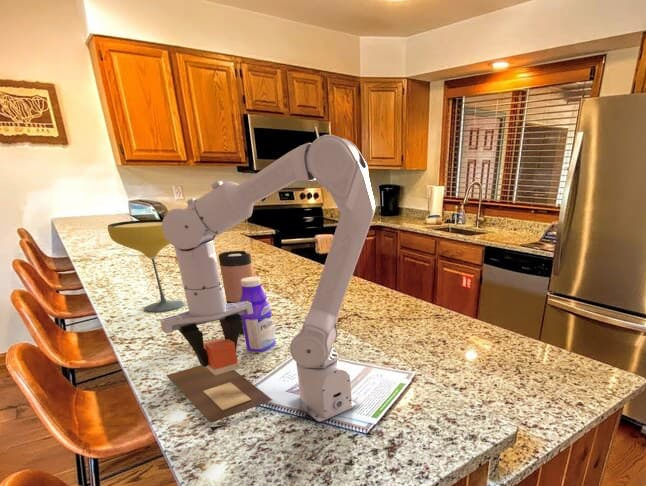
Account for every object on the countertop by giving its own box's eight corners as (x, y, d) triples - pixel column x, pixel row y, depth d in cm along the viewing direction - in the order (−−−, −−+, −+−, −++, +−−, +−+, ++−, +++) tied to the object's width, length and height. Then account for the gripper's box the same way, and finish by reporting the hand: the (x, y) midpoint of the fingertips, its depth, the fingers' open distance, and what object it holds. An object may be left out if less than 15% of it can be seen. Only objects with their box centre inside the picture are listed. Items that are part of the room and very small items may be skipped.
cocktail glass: (134, 302, 137) (111, 221, 126) (196, 295, 144) (179, 218, 133) (128, 319, 122) (101, 229, 111) (197, 310, 129) (178, 224, 118)
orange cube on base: (240, 367, 74) (235, 342, 72) (215, 375, 72) (209, 349, 70) (222, 354, 80) (217, 330, 78) (198, 361, 77) (192, 336, 75)
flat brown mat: (273, 406, 77) (272, 398, 77) (212, 430, 71) (210, 421, 70) (221, 365, 93) (220, 358, 93) (167, 381, 87) (165, 374, 86)
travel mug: (228, 334, 111) (212, 256, 102) (237, 324, 117) (224, 250, 109) (257, 333, 111) (245, 256, 102) (265, 323, 118) (254, 250, 109)
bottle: (265, 358, 97) (254, 283, 89) (243, 356, 98) (229, 282, 90) (280, 346, 103) (270, 275, 96) (259, 344, 104) (247, 274, 97)
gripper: (235, 273, 77) (247, 343, 83) (147, 288, 68) (167, 365, 74) (253, 280, 72) (264, 353, 78) (160, 297, 63) (181, 379, 69)
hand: (218, 360), depth 76 cm, fingers closed on orange cube on base, 4 cm apart
